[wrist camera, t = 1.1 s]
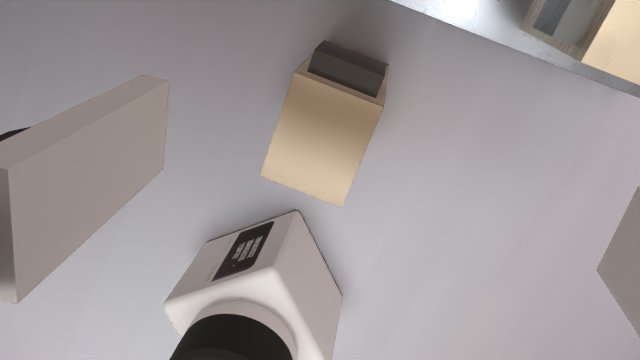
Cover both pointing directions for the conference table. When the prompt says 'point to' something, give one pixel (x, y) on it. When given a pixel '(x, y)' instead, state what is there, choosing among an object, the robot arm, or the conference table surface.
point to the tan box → (327, 122)
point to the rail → (556, 32)
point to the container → (257, 297)
